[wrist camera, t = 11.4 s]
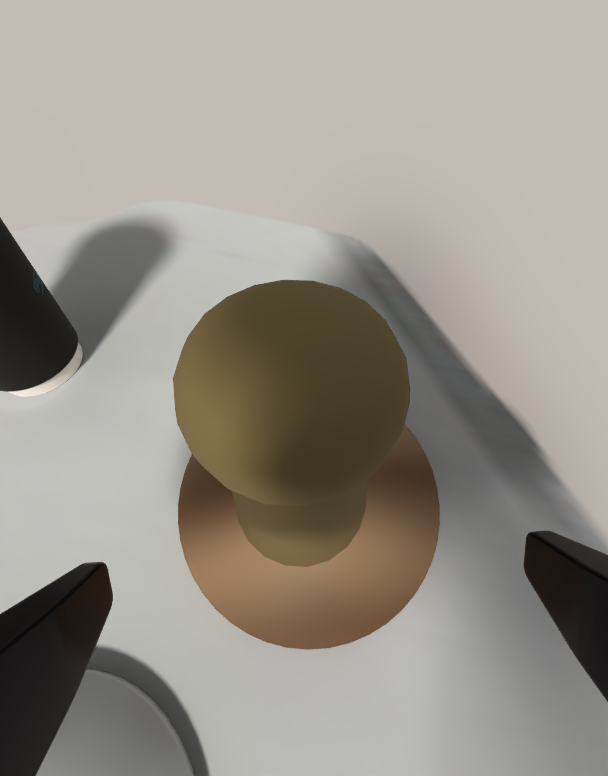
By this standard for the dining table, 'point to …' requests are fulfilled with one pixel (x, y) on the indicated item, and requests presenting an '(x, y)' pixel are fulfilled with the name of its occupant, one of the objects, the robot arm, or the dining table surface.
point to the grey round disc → (115, 734)
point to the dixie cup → (31, 328)
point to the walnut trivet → (324, 580)
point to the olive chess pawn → (293, 411)
